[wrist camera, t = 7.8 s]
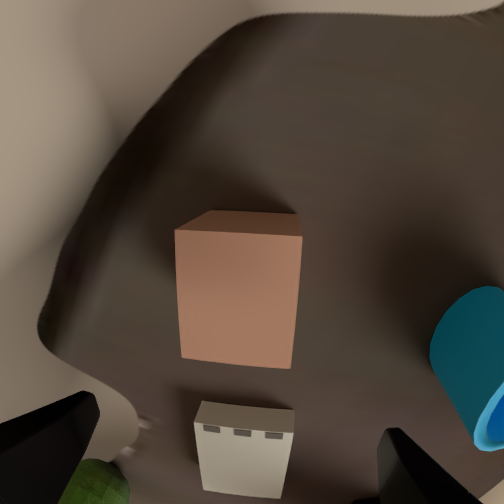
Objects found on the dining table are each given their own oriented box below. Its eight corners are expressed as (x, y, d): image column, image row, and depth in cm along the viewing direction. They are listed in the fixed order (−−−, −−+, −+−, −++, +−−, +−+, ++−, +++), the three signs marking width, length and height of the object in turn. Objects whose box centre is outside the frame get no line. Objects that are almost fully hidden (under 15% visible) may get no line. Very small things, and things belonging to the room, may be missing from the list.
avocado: (83, 434, 26) (31, 509, 15) (146, 471, 26) (107, 554, 15) (78, 461, 28) (36, 524, 17) (131, 492, 28) (99, 561, 17)
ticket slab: (281, 478, 24) (280, 499, 21) (208, 470, 25) (203, 490, 22) (294, 409, 21) (293, 433, 19) (202, 400, 22) (193, 422, 20)
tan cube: (290, 313, 19) (289, 370, 13) (211, 306, 20) (182, 358, 14) (298, 214, 18) (302, 236, 12) (210, 210, 18) (174, 229, 12)
